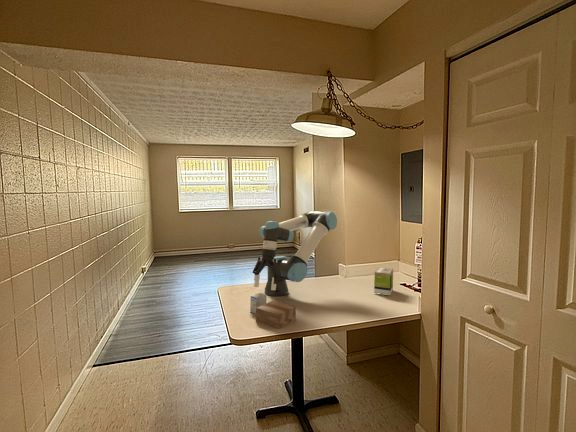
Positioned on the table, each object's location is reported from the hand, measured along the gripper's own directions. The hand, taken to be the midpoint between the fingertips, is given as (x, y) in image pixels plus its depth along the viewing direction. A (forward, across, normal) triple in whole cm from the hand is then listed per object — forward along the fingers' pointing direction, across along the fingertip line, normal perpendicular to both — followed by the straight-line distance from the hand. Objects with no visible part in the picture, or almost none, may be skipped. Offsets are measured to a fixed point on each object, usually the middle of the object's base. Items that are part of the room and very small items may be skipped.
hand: (264, 288), depth 167 cm
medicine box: (+12, -1, -1) cm, 12 cm away
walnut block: (+14, +14, -3) cm, 20 cm away
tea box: (-4, +30, +79) cm, 84 cm away
